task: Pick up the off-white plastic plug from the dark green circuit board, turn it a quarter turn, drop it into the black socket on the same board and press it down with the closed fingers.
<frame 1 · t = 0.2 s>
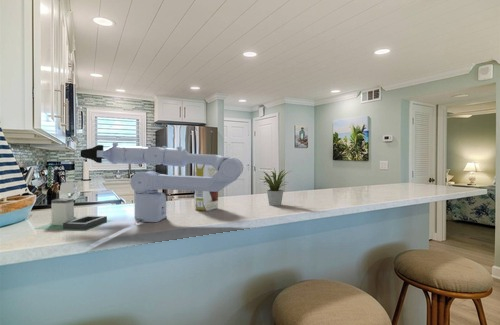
hand: (89, 153, 93), 21 cm above the table, tool horizontal, fingers open, 7 cm apart
house plant: (277, 205, 121), on the table
plug: (63, 223, 82), point 1 cm above the table, touching circuit board
circuit board: (75, 227, 81), on the table
wineglass: (70, 218, 94), on the table
juice carton: (206, 209, 111), on the table
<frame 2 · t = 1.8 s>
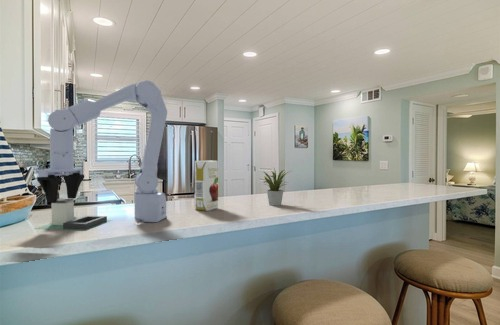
hand: (62, 200, 82), 8 cm above the table, tool pointing down, fingers open, 7 cm apart
nothing on the table moved.
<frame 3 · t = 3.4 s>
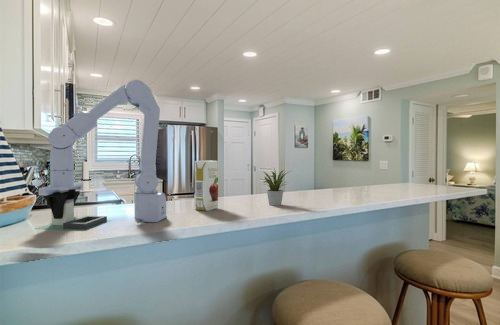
hand: (62, 217, 82), 3 cm above the table, tool pointing down, fingers closed on plug, 3 cm apart
plug: (63, 223, 82), point 1 cm above the table, touching circuit board, gripper
everything else where it was.
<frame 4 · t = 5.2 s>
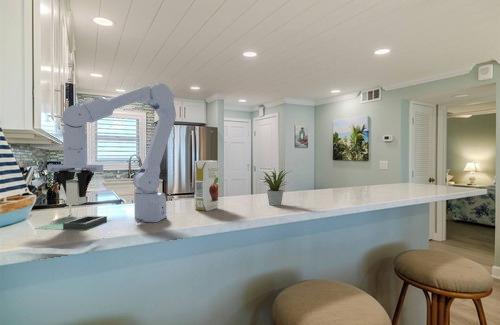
hand: (76, 196, 81), 9 cm above the table, tool pointing down, fingers closed on plug, 3 cm apart
plug: (76, 203, 81), point 7 cm above the table, touching gripper
everything else where it was.
when the fingers open (4 cm above the table, at t = 7.3 s): plug stays where it is, resting on circuit board.
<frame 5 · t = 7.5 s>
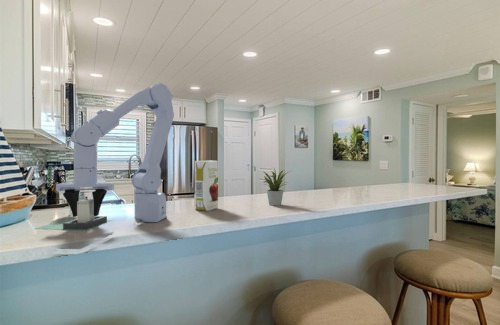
hand: (86, 215, 81), 4 cm above the table, tool pointing down, fingers open, 5 cm apart
plug: (86, 224, 81), point 1 cm above the table, touching circuit board
everything else where it was.
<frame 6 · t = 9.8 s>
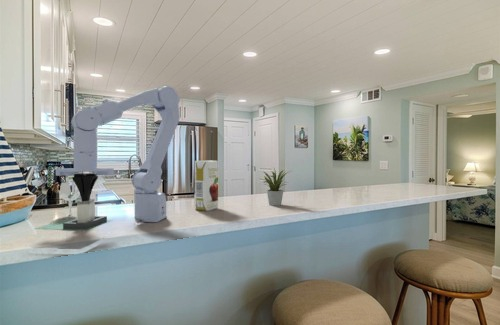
hand: (85, 200, 80), 8 cm above the table, tool pointing down, fingers closed, pressing on plug
plug: (86, 224, 81), point 1 cm above the table, touching circuit board, gripper
everything else where it was.
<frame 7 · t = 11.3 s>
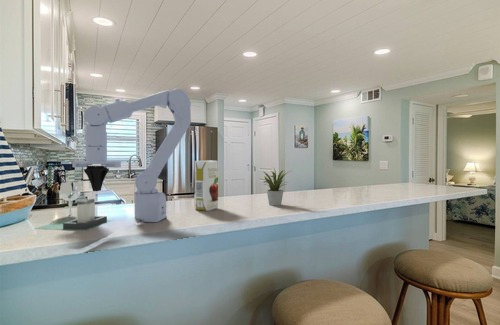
hand: (96, 190, 87), 10 cm above the table, tool pointing down, fingers closed
plug: (86, 224, 81), point 1 cm above the table, touching circuit board
everything else where it was.
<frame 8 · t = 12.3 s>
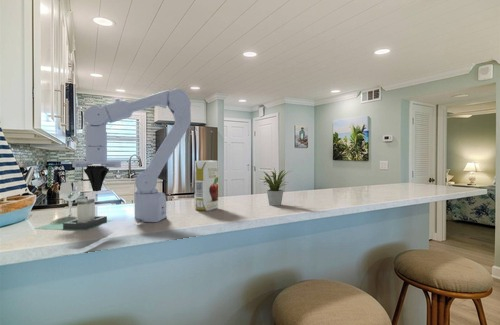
hand: (96, 190, 87), 10 cm above the table, tool pointing down, fingers closed
nothing on the table moved.
at the end: plug 0.1 cm from the target spot on the circuit board, point 1.0 cm above the circuit board's base; plug tilted 0°; the gripper is holding nothing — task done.
